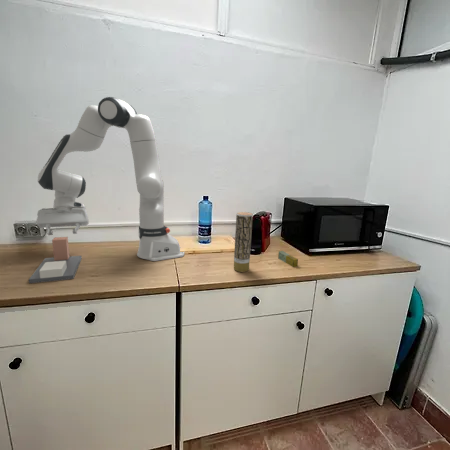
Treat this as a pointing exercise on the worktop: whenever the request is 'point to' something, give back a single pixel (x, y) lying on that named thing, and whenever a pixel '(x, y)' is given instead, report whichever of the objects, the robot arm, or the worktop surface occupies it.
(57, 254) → the salmon pink rectangular block
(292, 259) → the medication box
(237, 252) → the paper tube
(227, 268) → the worktop surface
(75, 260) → the stand
